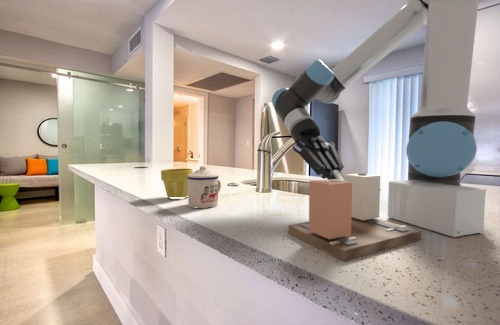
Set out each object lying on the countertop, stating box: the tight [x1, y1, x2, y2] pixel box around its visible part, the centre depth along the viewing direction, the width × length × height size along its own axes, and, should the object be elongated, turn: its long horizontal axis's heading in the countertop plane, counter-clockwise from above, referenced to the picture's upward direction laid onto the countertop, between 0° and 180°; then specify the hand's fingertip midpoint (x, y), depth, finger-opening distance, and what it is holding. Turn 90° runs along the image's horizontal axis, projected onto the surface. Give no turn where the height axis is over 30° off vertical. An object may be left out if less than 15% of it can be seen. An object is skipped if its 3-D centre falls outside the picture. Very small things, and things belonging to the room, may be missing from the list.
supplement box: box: [387, 179, 487, 238], centre depth 55 cm, size 9×9×15 cm
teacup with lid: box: [187, 165, 222, 209], centre depth 75 cm, size 12×9×12 cm
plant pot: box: [160, 167, 194, 198], centre depth 85 cm, size 10×10×10 cm
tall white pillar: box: [344, 172, 381, 220], centre depth 54 cm, size 5×5×9 cm
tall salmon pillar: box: [308, 179, 352, 239], centre depth 44 cm, size 5×5×9 cm
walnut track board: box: [287, 217, 422, 262], centre depth 48 cm, size 20×14×2 cm
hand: (347, 195), depth 57 cm, fingers closed
